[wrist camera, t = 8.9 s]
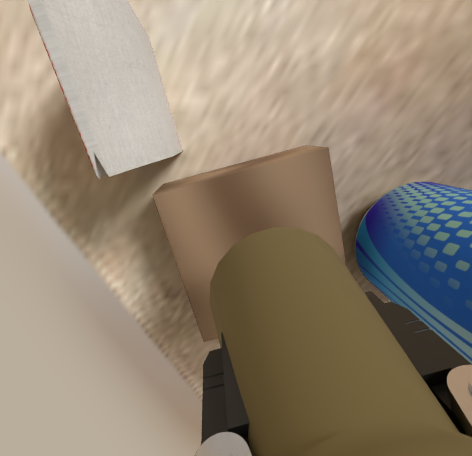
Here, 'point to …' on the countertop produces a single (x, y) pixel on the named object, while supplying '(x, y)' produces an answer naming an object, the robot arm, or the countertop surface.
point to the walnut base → (245, 214)
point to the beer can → (423, 256)
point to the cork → (319, 357)
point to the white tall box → (108, 81)
